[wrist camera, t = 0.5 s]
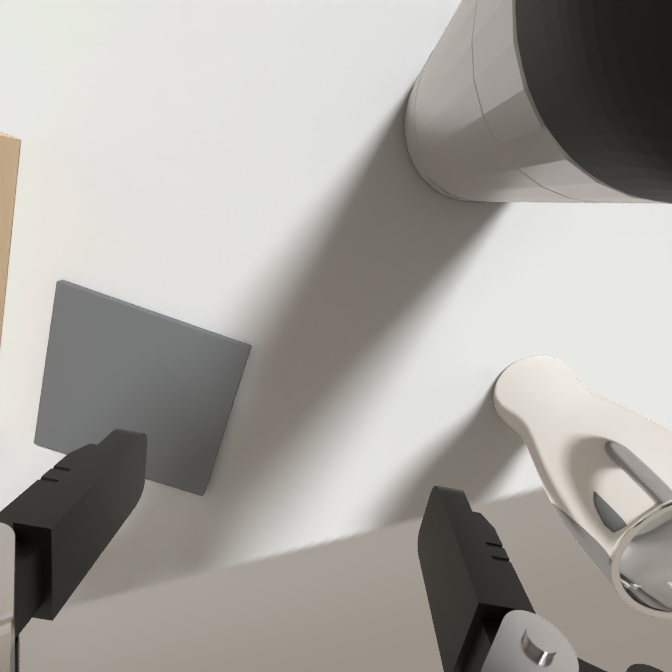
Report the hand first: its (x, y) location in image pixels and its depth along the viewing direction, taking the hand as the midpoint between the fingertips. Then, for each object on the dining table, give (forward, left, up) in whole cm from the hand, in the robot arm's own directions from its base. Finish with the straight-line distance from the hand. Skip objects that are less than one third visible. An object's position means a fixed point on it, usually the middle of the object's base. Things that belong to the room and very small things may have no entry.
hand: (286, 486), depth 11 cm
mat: (+11, -11, -19) cm, 24 cm away
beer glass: (0, +17, -19) cm, 25 cm away
